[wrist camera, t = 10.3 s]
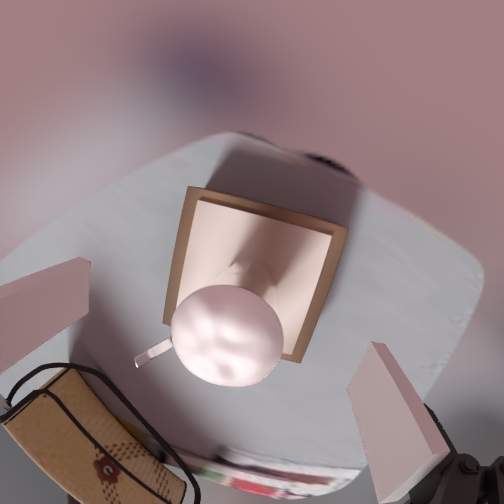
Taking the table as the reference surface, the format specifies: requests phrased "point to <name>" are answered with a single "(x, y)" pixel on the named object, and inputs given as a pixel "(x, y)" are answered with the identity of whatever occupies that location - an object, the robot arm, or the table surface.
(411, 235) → the table surface
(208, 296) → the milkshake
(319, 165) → the table surface
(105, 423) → the clutch purse
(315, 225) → the dock
